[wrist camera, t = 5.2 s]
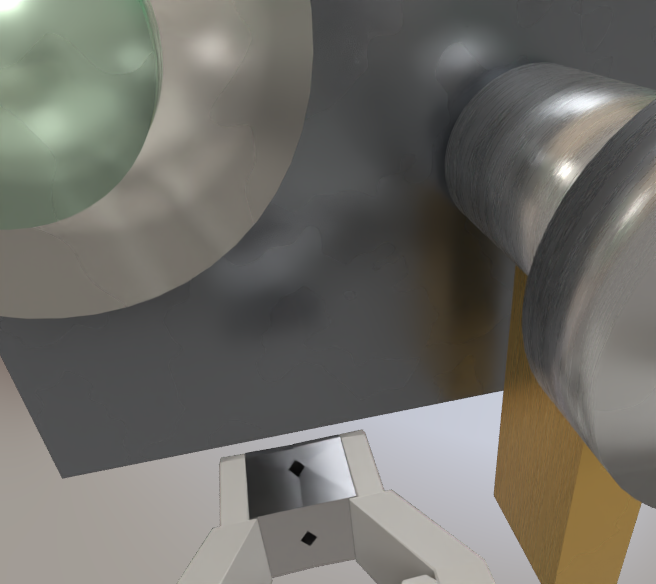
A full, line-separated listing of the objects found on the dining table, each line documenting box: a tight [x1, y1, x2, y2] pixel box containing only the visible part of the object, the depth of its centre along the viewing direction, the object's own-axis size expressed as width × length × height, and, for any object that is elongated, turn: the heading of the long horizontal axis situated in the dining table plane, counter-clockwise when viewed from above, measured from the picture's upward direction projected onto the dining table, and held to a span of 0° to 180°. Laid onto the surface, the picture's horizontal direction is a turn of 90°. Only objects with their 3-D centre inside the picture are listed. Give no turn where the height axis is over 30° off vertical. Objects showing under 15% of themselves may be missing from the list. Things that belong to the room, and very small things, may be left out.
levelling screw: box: [445, 63, 656, 584], centre depth 10 cm, size 12×6×7 cm, turn 5°
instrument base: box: [0, 0, 656, 478], centre depth 10 cm, size 18×14×8 cm
